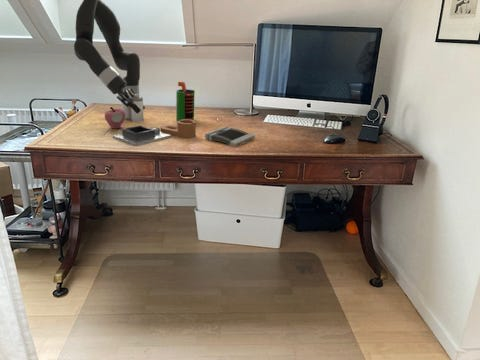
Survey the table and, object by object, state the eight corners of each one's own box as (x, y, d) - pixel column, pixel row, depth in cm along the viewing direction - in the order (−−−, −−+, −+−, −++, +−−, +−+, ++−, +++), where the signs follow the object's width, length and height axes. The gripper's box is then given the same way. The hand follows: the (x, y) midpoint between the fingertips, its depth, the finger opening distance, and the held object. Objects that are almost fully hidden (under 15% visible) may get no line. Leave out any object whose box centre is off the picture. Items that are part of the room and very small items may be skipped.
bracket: (199, 135, 182) (199, 121, 180) (189, 139, 175) (189, 124, 173) (167, 129, 189) (167, 115, 187) (156, 133, 183) (156, 118, 180)
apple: (106, 130, 181) (105, 109, 178) (104, 126, 189) (102, 105, 185) (127, 129, 185) (126, 108, 182) (124, 124, 193) (123, 104, 189)
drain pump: (139, 118, 173) (137, 92, 169) (145, 121, 170) (145, 94, 166) (129, 120, 170) (128, 94, 165) (136, 122, 167) (135, 95, 162)
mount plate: (149, 129, 186) (149, 121, 185) (171, 137, 177) (171, 128, 175) (112, 137, 172) (112, 128, 171) (134, 145, 163) (133, 136, 161)
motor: (190, 123, 201) (190, 84, 193) (173, 122, 202) (172, 82, 194) (196, 119, 210) (196, 81, 202) (180, 117, 211) (179, 80, 204)
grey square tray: (226, 126, 189) (255, 129, 181) (226, 135, 190) (255, 139, 182) (205, 133, 175) (235, 137, 167) (205, 143, 177) (235, 148, 169)
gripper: (111, 76, 157) (141, 108, 160) (124, 72, 170) (152, 102, 174) (99, 88, 159) (129, 120, 163) (113, 83, 172) (141, 112, 176)
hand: (141, 110), depth 168 cm, fingers closed on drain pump, 5 cm apart
